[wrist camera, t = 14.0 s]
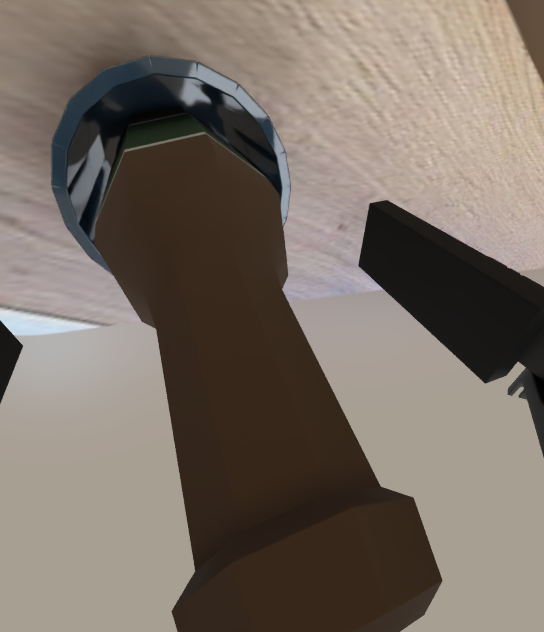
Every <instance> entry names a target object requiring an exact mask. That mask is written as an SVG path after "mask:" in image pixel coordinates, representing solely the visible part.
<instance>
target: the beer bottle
mask: <svg viewBox="0 0 544 632" xmlns="http://www.w3.org/2000/svg"><path fill="white" fill-rule="evenodd" d="M94 245H95V246H96V248H97V249H98V251H99V253H100V254H101V256H102V258H103V259H104V261H105V262H106V264H107V266H108V267H109V269H110V271H111V272H112V274H113V275H114V277H115V279H116V280H117V282H118V284H119V285H120V287H121V289H122V290H123V292H124V293H125V295H126V297H127V298H128V300H129V302H130V303H131V305H132V306H133V308H134V310H135V311H136V313H137V314H138V316H139V318H140V319H141V321H142V322H144V323H146V324H148V325H150V326H152V327H154V328H155V329H156V330H157V336H158V343H159V349H160V355H161V361H162V367H163V374H164V379H165V386H166V392H167V399H168V404H169V411H170V417H171V423H172V429H173V436H174V442H175V448H176V454H177V461H178V467H179V473H180V479H181V485H182V492H183V498H184V504H185V510H186V516H187V522H188V528H189V535H190V541H191V547H192V554H193V559H194V566H195V573H194V575H193V576H192V578H191V579H190V581H189V583H188V584H187V586H186V588H185V589H184V591H183V593H182V595H181V596H180V598H179V600H178V601H177V603H176V605H175V606H174V608H173V610H172V614H173V617H174V621H175V624H176V627H177V631H178V632H400V631H401V630H403V629H404V628H406V627H407V626H408V625H410V624H412V623H413V622H414V621H416V620H417V619H419V618H420V617H422V616H423V615H424V614H425V612H426V610H427V608H428V607H429V605H430V603H431V601H432V599H433V597H434V596H435V594H436V592H437V590H438V588H439V586H440V584H441V583H442V578H441V575H440V572H439V569H438V567H437V564H436V561H435V558H434V555H433V552H432V549H431V546H430V544H429V541H428V538H427V535H426V532H425V529H424V526H423V524H422V521H421V518H420V515H419V512H418V509H417V507H416V503H415V501H414V498H413V497H410V496H407V495H403V494H401V493H398V492H395V491H392V490H389V489H386V488H383V487H381V486H380V484H379V482H378V480H377V478H376V476H375V474H374V472H373V470H372V468H371V466H370V464H369V462H368V460H367V458H366V456H365V454H364V452H363V450H362V448H361V446H360V444H359V442H358V440H357V438H356V436H355V434H354V432H353V430H352V429H351V426H350V425H349V422H348V420H347V418H346V416H345V414H344V412H343V410H342V409H341V406H340V404H339V402H338V400H337V399H336V396H335V394H334V392H333V391H332V389H331V386H330V384H329V382H328V380H327V378H326V377H325V374H324V373H323V371H322V369H321V367H320V365H319V362H318V361H317V359H316V357H315V355H314V353H313V351H312V349H311V347H310V345H309V343H308V341H307V339H306V337H305V335H304V333H303V331H302V329H301V327H300V325H299V323H298V321H297V319H296V317H295V315H294V313H293V311H292V309H291V307H290V305H289V303H288V301H287V299H286V297H285V295H284V293H283V291H282V288H283V286H284V283H285V281H286V279H287V277H288V268H287V257H286V249H285V240H284V231H283V222H282V214H281V205H280V196H279V193H278V192H277V191H276V189H275V188H274V187H273V185H272V184H271V183H270V181H269V180H268V179H267V178H266V177H265V176H264V175H263V174H262V173H261V172H259V171H258V170H257V169H256V168H255V167H254V166H253V165H252V164H251V163H250V162H248V161H247V160H246V159H245V158H244V157H243V156H242V155H241V154H240V153H239V152H237V151H236V150H235V149H234V148H233V147H232V146H231V145H230V144H229V143H228V142H226V141H225V140H224V139H223V138H221V137H220V136H219V135H217V134H216V133H215V132H213V131H212V130H211V129H209V128H208V127H207V126H205V125H204V124H203V123H201V122H200V121H199V120H198V119H196V118H195V117H194V116H192V115H191V114H190V113H188V112H187V111H186V110H184V109H183V108H181V107H175V108H170V109H165V110H161V111H156V112H151V113H146V114H141V115H137V116H132V117H131V119H130V121H129V124H128V126H127V129H126V131H125V134H124V136H123V139H122V141H121V144H120V146H119V149H118V151H117V154H116V157H115V159H114V162H113V164H112V167H111V170H110V174H109V177H108V181H107V184H106V188H105V191H104V195H103V199H102V202H101V206H100V209H99V213H98V216H97V220H96V223H95V241H94Z"/></svg>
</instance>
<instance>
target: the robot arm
mask: <svg viewBox="0 0 544 632" xmlns="http://www.w3.org/2000/svg"><path fill="white" fill-rule="evenodd" d="M358 266H359V267H360V268H361V269H362V270H363V271H365V272H366V273H367V274H368V275H369V276H370V277H371V278H372V279H373V280H374V281H375V282H376V283H378V284H379V285H380V286H381V287H382V288H383V289H384V290H385V291H386V292H387V293H388V294H389V295H391V296H392V297H393V298H394V299H395V300H396V301H397V302H398V303H399V304H400V305H401V306H402V307H404V308H405V309H406V310H407V311H408V312H409V313H410V314H411V315H412V316H413V317H414V318H415V319H416V320H417V321H418V322H420V323H421V324H422V325H423V326H424V327H425V328H426V329H427V330H428V331H429V332H431V334H432V335H434V336H435V337H436V338H437V339H438V340H439V341H440V342H441V343H442V344H443V345H445V347H447V348H448V349H449V350H450V351H451V352H452V353H453V354H454V355H455V356H456V357H457V358H458V359H460V360H461V361H462V362H463V363H464V364H465V365H466V366H467V367H468V368H469V369H470V370H471V371H472V372H473V373H475V374H476V375H477V376H478V377H479V378H480V379H481V380H482V381H483V382H484V383H488V382H490V381H493V380H496V379H498V378H501V377H504V376H506V375H507V374H508V373H509V372H510V370H511V369H512V368H513V367H514V365H515V364H516V363H517V362H520V363H521V364H522V365H524V366H525V367H526V368H525V370H524V371H523V372H522V373H521V374H520V375H519V377H518V378H517V379H516V380H515V381H514V382H513V383H512V385H511V386H510V387H509V388H508V395H511V396H512V395H513V394H514V393H515V392H516V391H517V390H518V389H519V388H520V387H524V390H523V391H522V392H521V393H520V395H519V398H523V399H527V401H528V404H529V408H530V411H531V414H532V418H533V422H534V425H535V429H536V432H537V435H538V439H539V443H540V446H541V449H542V453H543V457H544V287H543V286H541V285H540V284H538V283H536V282H534V281H532V280H531V279H529V278H527V277H525V276H522V275H520V273H518V272H516V271H514V270H513V269H511V268H510V269H509V268H507V266H506V265H504V264H502V263H500V262H498V261H497V260H495V259H493V258H491V257H488V256H486V255H484V254H482V253H481V252H479V251H477V250H475V249H473V248H472V247H470V246H468V245H466V244H464V243H463V242H461V241H459V240H457V239H456V238H454V237H452V236H450V235H448V234H447V233H445V232H443V231H441V230H439V229H438V228H436V227H434V226H432V225H431V224H429V223H427V222H425V221H423V220H422V219H420V218H418V217H416V216H414V215H413V214H411V213H409V212H407V211H405V210H404V209H402V208H400V207H398V206H397V205H395V204H393V203H391V202H389V201H388V200H385V201H380V202H375V203H370V205H369V210H368V216H367V221H366V227H365V232H364V238H363V243H362V249H361V254H360V260H359V265H358ZM22 348H23V345H22V344H21V343H20V342H19V341H18V340H17V339H16V338H15V336H14V335H13V334H12V333H11V332H10V331H9V330H8V329H7V327H6V326H5V325H4V324H3V323H2V322H1V321H0V403H1V400H2V398H3V395H4V393H5V390H6V388H7V385H8V383H9V380H10V378H11V375H12V373H13V370H14V367H15V365H16V362H17V360H18V358H19V355H20V353H21V350H22Z"/></svg>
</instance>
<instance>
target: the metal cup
mask: <svg viewBox="0 0 544 632" xmlns="http://www.w3.org/2000/svg"><path fill="white" fill-rule="evenodd" d="M69 100H70V101H68V103H67V105H66V108H65V110H64V112H63V115H62V117H61V120H60V122H59V124H58V127H57V129H56V131H55V134H54V136H53V139H52V143H51V185H52V190H53V193H54V196H55V198H56V201H57V204H58V207H59V209H60V212H61V215H62V218H63V220H64V223H65V225H66V227H67V229H68V230H69V231H70V232H71V234H72V235H73V236H74V238H75V239H76V240H77V242H78V243H79V244H80V246H81V247H82V248H83V250H84V251H85V252H86V253H87V255H88V256H89V257H90V258H91V259H92V260H93V261H95V262H96V263H97V264H99V265H100V266H101V267H103V268H104V269H105V270H107V271H108V272H109V273H111V274H112V272H111V271H110V269H109V267H108V266H107V264H106V262H105V261H104V259H103V258H102V256H101V254H100V253H99V251H98V249H97V248H96V246H95V245H94V241H95V223H96V220H97V216H98V213H99V209H100V206H101V202H102V199H103V195H104V191H105V188H106V184H107V181H108V177H109V174H110V170H111V167H112V164H113V162H114V159H115V157H116V154H117V151H118V149H119V146H120V144H121V141H122V139H123V136H124V134H125V131H126V129H127V126H128V124H129V121H130V119H131V117H132V116H137V115H141V114H146V113H151V112H156V111H161V110H165V109H170V108H175V107H181V108H183V109H184V110H186V111H187V112H188V113H190V114H191V115H192V116H194V117H195V118H196V119H198V120H199V121H200V122H201V123H203V124H204V125H205V126H207V127H208V128H209V129H211V130H212V131H213V132H215V133H216V134H217V135H219V136H220V137H221V138H223V139H224V140H225V141H226V142H228V143H229V144H230V145H231V146H232V147H233V148H234V149H235V150H236V151H237V152H239V153H240V154H241V155H242V156H243V157H244V158H245V159H246V160H247V161H248V162H250V163H251V164H252V165H253V166H254V167H255V168H256V169H257V170H258V171H259V172H261V173H262V174H263V175H264V176H265V177H266V178H267V179H268V180H269V181H270V183H271V184H272V185H273V187H274V188H275V189H276V191H277V192H278V193H279V196H280V205H281V214H282V222H283V227H284V224H285V222H286V220H287V215H288V207H289V199H290V191H291V182H290V176H289V169H288V163H287V157H286V152H285V149H284V146H283V144H282V142H281V140H280V138H279V136H278V134H277V132H276V130H275V128H274V126H273V124H272V122H271V120H270V117H269V116H268V115H267V113H266V112H265V111H264V110H263V109H262V108H261V107H260V106H259V105H258V103H257V102H256V101H255V100H254V99H253V98H252V97H251V96H250V95H249V94H248V93H247V92H246V91H245V90H244V89H243V87H242V86H241V85H240V84H238V83H237V82H235V81H234V80H232V79H230V78H228V77H226V76H224V75H222V74H220V73H219V72H217V71H215V70H213V69H211V68H209V67H207V66H205V65H204V64H202V63H200V62H196V61H192V60H184V59H176V58H168V57H160V56H152V55H151V56H145V57H141V58H138V59H135V60H131V61H128V62H124V63H121V64H118V65H114V66H111V67H107V68H105V69H103V70H101V71H100V72H99V73H98V74H97V75H96V76H95V77H94V78H93V79H91V80H90V81H89V82H88V83H87V84H86V85H85V86H84V87H82V88H81V89H80V90H79V91H78V92H77V93H76V94H75V95H74V96H72V97H71V98H70V99H69ZM112 275H113V274H112ZM113 276H114V275H113Z"/></svg>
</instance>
